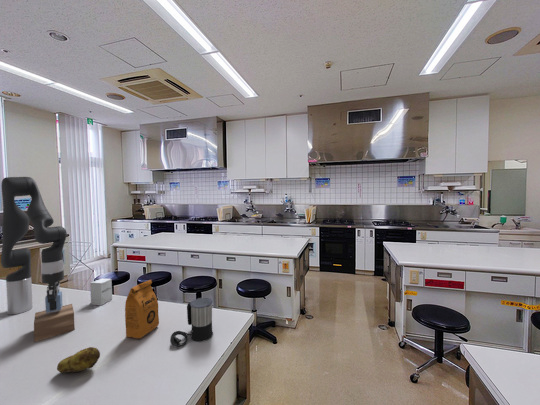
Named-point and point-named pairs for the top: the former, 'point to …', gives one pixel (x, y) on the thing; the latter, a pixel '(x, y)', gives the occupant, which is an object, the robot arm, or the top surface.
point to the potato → (79, 360)
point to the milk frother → (196, 322)
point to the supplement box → (101, 291)
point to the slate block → (58, 303)
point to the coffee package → (141, 310)
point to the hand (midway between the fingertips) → (54, 307)
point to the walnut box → (53, 323)
